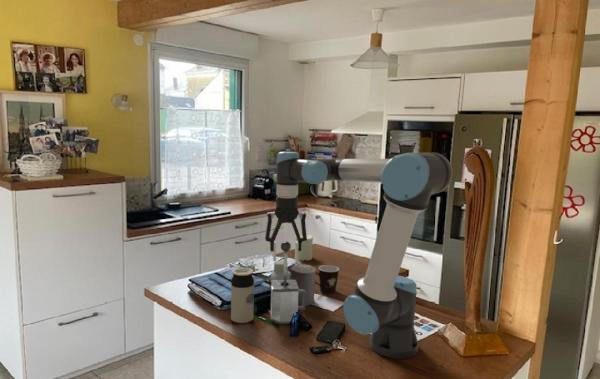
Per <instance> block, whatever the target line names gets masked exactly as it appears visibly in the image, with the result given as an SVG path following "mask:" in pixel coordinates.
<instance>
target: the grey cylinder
mask: <svg viewBox="0 0 600 379" xmlns="http://www.w3.org/2000/svg"><path fill="white" fill-rule="evenodd" d="M290 270H291V272H290V280H296V282H297V285H298V287H299V289H304V290H305V291H306V305H305V307H307V306H311V305H313V304H314V303H315V302H314V301H315V289H316V288H315V286H316V285H315V284H316V283H315V282H316V274H315V272H316V267H314V266H312V265H310V264H295V265H292V267H291V268H290ZM302 305H303V293H298V306H302Z"/></svg>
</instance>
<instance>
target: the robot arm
mask: <svg viewBox="0 0 600 379" xmlns="http://www.w3.org/2000/svg"><path fill="white" fill-rule="evenodd" d="M453 174H454V173H453V168H452V164H451V163H450V161H449V160H448V158H446V156H444V155H443V154H441V153H437V152H405V153H402V154H398V155H394V156H393V157H391V158H341V157H337V158H323V159H321V158H320V159H303V158H302V159H301V158H300V154H299V152H296V151H280V152H278V153H277V160H276V191H275V192H276V193H275V194H276V198H275V210H274V211H273V212H272V211H271V212H270V211H268V212H267V213H266V214H267V215H266V216H267V222H266V230H265V237H264V238H265V241H266V242H269V250H270V252H272V261H273V262H276V261H277V242H276V241H275V240H276V239H277V236H278V233H279V232H280V229H281V226H282V224H287V223H288V224H291V226H292V228H293V229H292V230H294V234H295V238H296V237H297V240H298V241H296V240H295V241H294V242H295V246H294V260H295V261H296V262H299V260H298V251H301V244H302V242H303V241H306V240H307V235H308V234H307V228H306V227H307V225H306V219H307V218H306V217H307V214H306V212H304V211H303V212H301V211H299V209H298V207H299V206H298V203H299V198H298V195H299V182H301V183H306V184H310V185H321V184H322V183H324V182H329V181H331V182H332V181H338V182H339V181H340V182H341V181H342V182H344V181H345V182H361V183H362V182H364V183H378V184H380V183H381V185H382V189H383V191H384V193H383V199H384V201H385V203H386V207H385V209H384V212H383V216H382V219H381V223H380V226H379V230H378V233H377V237H376V239H375V243H374V246H373V250H372V252H371V255H370V260H369V262H368V266H367V269H366V272H365V276H363V277H361V278H359V279H358V281H357V283H356V286H355V290H354V293H353V294H351V295H348V296H347V297H346V298H345V300H344V301H343V305H342V307H343V308H342V310H343V316H344V317H345V319H346V322H347V324H348V325H349V326H350V328H351V329H352V330H354V331H355V332H357V333H358V334H361V335H369V334H370V337H369V346H370V348H371V349H372V351H373V352H375V353H377V354H379V355H381V356H383V357H386V358H389V359H390V358H391V359H397V360H398V359H399V360H403V359H405V360H406V359H410V358H412V357H414V356H416V355H417V353H418V350H419V342H418V338H417V334H416V329H415V316H416V304H417V303H416V302H417V294H418V293H417V283H416V282H415V281H414V280H413V279H411V278H410V277H406V276H402V275H399V272H400V270H401V267H402V264H403V261H404V257H405V254H406V251H407V250H408V246H409V243H410V239H411V237H412V234H413V231H414V228H415V225H416V222H417V220H418V217H419V214H420V213H422V212H425V211H426V210H427V207H428V205H429V202H430V199H431V196H432V195H436V194H439V193H442V192H443V191H445V190H446V189H447V188H448V186H449V185H450V184H451V182H452V179H453ZM275 217H276V218H277V222H276V224H275V227H274V229H273V231H272V233H271V229H272V224H273V223H272V222H273V219H274V218H275ZM297 217H299V219H300V226H301V227H300V228H301V234H300V231H299V228H298V226H297V223H296V221H295V220H296V219H297ZM270 235H271V236H270ZM300 235H302V237H300Z"/></svg>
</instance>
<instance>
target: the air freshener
mask: <svg viewBox="0 0 600 379" xmlns="http://www.w3.org/2000/svg"><path fill="white" fill-rule="evenodd" d="M273 262H274V263H273V270H272V271H271V272H270V283H271V280H283V271H284V260H276V261H273ZM287 269H288V262H287ZM287 280H291V272H290V271H289V270H287Z"/></svg>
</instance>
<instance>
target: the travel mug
mask: <svg viewBox="0 0 600 379" xmlns="http://www.w3.org/2000/svg"><path fill="white" fill-rule="evenodd" d="M253 273H254V270H253V269H252V268H250V267H237V268H233V269H232V271H231V274H232V278H231V279H230V280H231V281H230V285H231V287H230V291H231V292H230V293H231V294H230V295H231V296H230V299H231V300H230V301H231V302H230V306H231V307H230V319H231V321H232V322H234V323H236V324H247V323H249V322H251V321H253V319H254V306H255V305H254V302H255V298H254V297H255V294H254V293H255V279H254V276H253Z"/></svg>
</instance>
